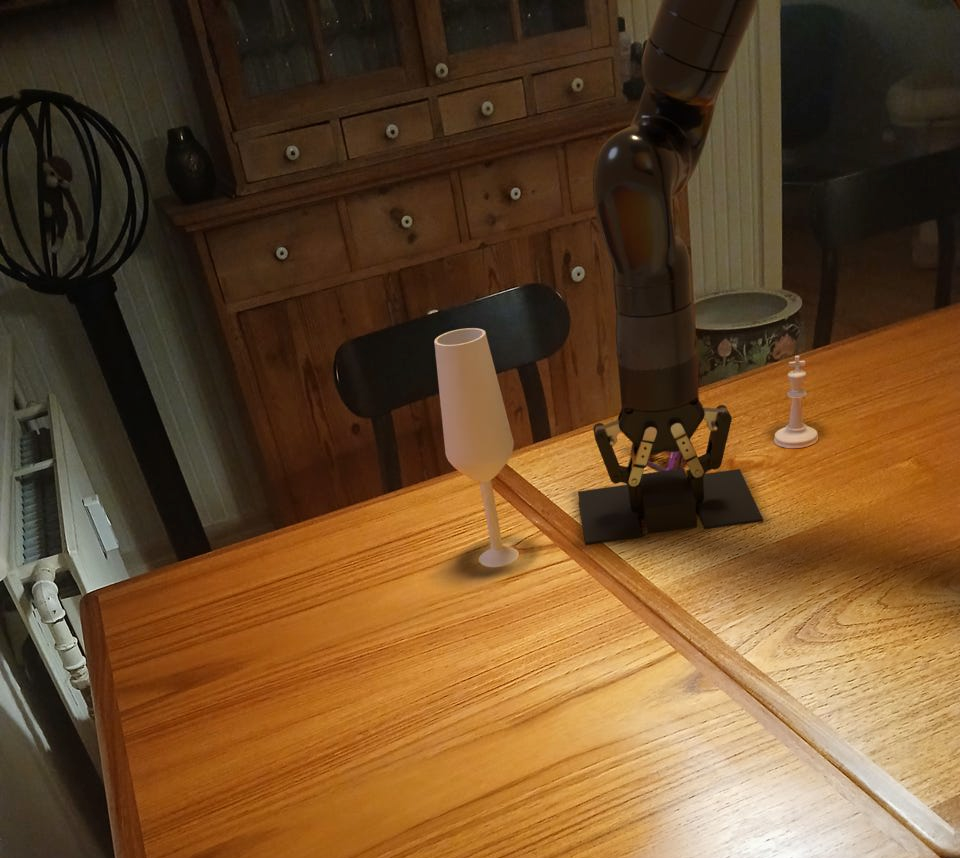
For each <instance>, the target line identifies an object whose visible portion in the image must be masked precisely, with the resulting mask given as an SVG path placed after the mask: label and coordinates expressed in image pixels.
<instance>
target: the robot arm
mask: <svg viewBox="0 0 960 858" xmlns="http://www.w3.org/2000/svg"><path fill="white" fill-rule="evenodd" d="M758 1H759V0H661V2H660V4H659V7H658V10H657V13H656V15H655V18H654V21H653V23H652V26H651V29H650V32H649V34H648V35H649V36H648V38H647V40H646V43H645V46H644V49H643V54H642V58H641V61H640V76H641V79H642V81H643V83H644V85H643V88H642V92H641V95H640V99H639V102H638V105H637V109H636V111H635V114H634V116H633V118H632V121H631V123H630V125H629V126H627V127H626V128H624V129H622V130H620V131H618V132H616V133H615V134H613V135H611V136H610V137H609V138H608V139H607V140H606V141H605V142H604V143H603V145H602V146H601V147H600V149H599V151H598V153H597V156H596V159H595V161H594V167H593V175H592V191H593V192H592V195H593V200H594V207H595V212H596V215H597V219H598V222H599V225H600V229H601V233H602V237H603V240H604V243H605V247H606V249H607V252H608V255H609V257H610V260H611V263H612V274H613V275H612V276H613V279H612V280H613V291H614V301H615V302H614V303H615V317H616V318H615V345H616V357H617V368H618V379H619V388H620V389H619V390H620V391H619V392H620V399H621V401H620V402H621V409H620V412H619V414H618V417H617V419H616V420H613V421H611V422H608V423H605V424H604V423H602V422H598V423H595V424H594V426H593V428H592V429H593V436H594V440H595V443H596V446H597V448H598V450H599V453H600V456H601V459H602V461H603V464H604V466H605V469H606V471H607V474H608V477H609V479H610V482H611V483H613V484H619V483H622V484H625V485H628V490H629V502H630V507H631V510H632V511H633V513H634V512H637V514H638V518H642V517H643V518H644V507H643V495H644V494H643V485H642V481H641V477H642V474H644V470H645V468H646V467H647V466H648V465H647V462H648V458H649V456H650V457H651V456H656V455H659V454H661V453H664V452H678V451H681V453H682V455H683V460H684V461H685V463H686V465H687V467H688V469H687V470H686V475H687V480H688V482H689V485H690V488H691V490H692V492H693V495H694V498H695V501H696V510H697V509H698V504H699V503H703V500H704V483H703V476H704V474H707V473H708V472H709V471H711V470H718V469H720V468H721V467H722V464H723V459H724V455H725V450H726V446H727V441H728V437H729V434H730V429H731V424H732V420H733V418H732V415H731V413H730V411H729V409H728V407H727V406H726V405H725V404H720V405H718V406H716V407H706V406H705V407H703V404H702V403H701V401H700V395H699V373H698V371H699V369H698V351H697V349H698V346H699V345H698V344H699V343H698V342H699V341H698V337H697V326H696V319H695V314H694V309H693V300H692V298H693V297H692V278H691V277H692V276H691V259H690V252H689V248H688V245H687V243H686V241H685V240H684V239H683V238H682V237H680V236H678V235H676V233H675V225H674V218H673V211H672V199H674V198H675V197H676V196H677V195H679V194H680V193H681V192H683V190H684V189H685V188H686V186H687V185H688V184H689V181H690V180H691V178H692V176H693V174H694V173H695V170H696V168H697V166H698V164H699V162H700V159H701V157H702V154H703V151H704V148H705V145H706V141H707V138H708V135H709V131H710V129H711V128H710V127H711V124H712V121H713V117H714V114H715V110H716V104H717V99H718V96H719V94H720V91H721V89H722V87H723V85H724V83H725V81H726V79H727V76H728V74H729V73H730V70H731V67H732V65H733V64H734V61H735V58H736V56H737V53H738V51H739V50H740V46H741V45H742V44H741V43H742V41H743V39H744V37H745V34H746V32H747V31H748V30H747V29H748V28H749V25H750V23H751V20H752V18H753V15H754V12H755V10H756V8H757V4H758ZM950 2H951V3H952V5H953V6H954V8H955V9H956V11H957V12H958V14H959V15H960V0H950ZM703 420H704V421H706V426H707V429H708V431H710V432H709V437H708V441H707V446H706V450H705V453H703V454H702V455H700V456H699V455H698V454H697V452H696V450H695V448H694V445H693V443H692V440H691V438H692V437H693V436H694V434H695V433H696V431H697V429H698V428H699V426H700V425H701V423H702V422H703ZM620 432H621V433H622V434H623V435H624V436H625V437H626V438H627V439H629V441H630V442H631V444H632V443H633V446H632V445H631V448H632V449H631V448H630V453H631V456H629V459H628V463H627V466H624V465H620V463H619V460H618V457H617V455H616V452H615V449H614V447H613V446H615V445H616V444H617V443H618V434H619V433H620Z"/></svg>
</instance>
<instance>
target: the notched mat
mask: <svg viewBox="0 0 960 858" xmlns="http://www.w3.org/2000/svg"><path fill="white" fill-rule="evenodd" d="M703 483H704V500H703V503H699V504H698V509H696V512H697V514H698V516H699V519H700V522H701V525H702V528H703V529H704V530H709V529H717V528H724V527H732V526H741V525H748V524H755V523H761V522H764V518H763V516H762V514H761V512H760V510H759V508H758V505H757V503H756V502H755V499H754V497H753V494H752V492H751V489H750V488H749V486H748V484H747V481H746V480H745V478H744V475H743V473H742V470H741V469H740V468H736V469H730V470H723V471H715V472H709V473H708V472H706V473H705V474H704V476H703ZM577 495H578V503H579V504H578V505H579V511H580V518H581V525H582V531H583V540H584V545H585V546H589V545H590V546H591V545H597V544H598V545H599V544H605V543H610V542H611V543H613V542H621V541H626V540H635V539H636V540H637V539H642V538H643V537H644V536H643V531H642V527H641V523H640V520H639V518H640V517H638V513H637V512H634V513H633V511H632V510H631V507H630V502H629V490H628V485H627V484H623V485H614V486H607V487H600V488H594V489H586V490H579V491H577Z"/></svg>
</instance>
